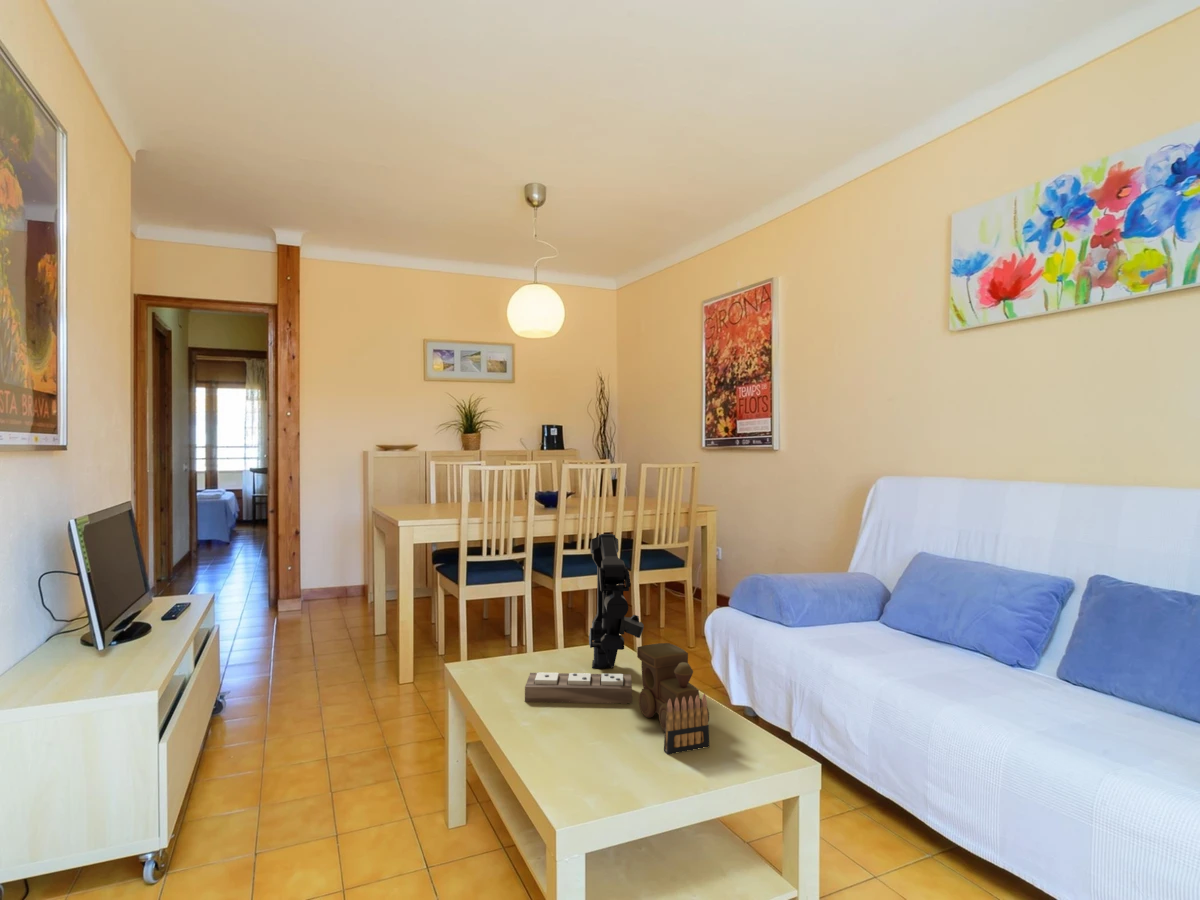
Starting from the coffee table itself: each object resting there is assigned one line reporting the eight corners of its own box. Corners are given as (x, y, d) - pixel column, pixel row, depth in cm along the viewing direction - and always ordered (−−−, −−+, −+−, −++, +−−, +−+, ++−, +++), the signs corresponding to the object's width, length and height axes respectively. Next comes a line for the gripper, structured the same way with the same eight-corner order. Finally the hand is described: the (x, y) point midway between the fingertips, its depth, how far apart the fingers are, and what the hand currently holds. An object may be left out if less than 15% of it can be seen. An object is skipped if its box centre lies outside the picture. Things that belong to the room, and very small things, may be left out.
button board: (530, 686, 183) (530, 672, 183) (630, 688, 182) (630, 674, 182) (524, 701, 172) (524, 686, 172) (631, 703, 171) (632, 688, 171)
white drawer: (537, 681, 180) (537, 671, 180) (558, 682, 180) (558, 672, 180) (534, 689, 174) (534, 679, 174) (556, 689, 174) (556, 679, 174)
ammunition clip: (705, 743, 148) (705, 691, 148) (709, 747, 147) (710, 694, 147) (663, 750, 145) (664, 697, 145) (667, 754, 143) (667, 700, 143)
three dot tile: (601, 682, 180) (601, 672, 180) (622, 683, 180) (622, 673, 180) (600, 690, 174) (601, 680, 174) (623, 691, 174) (623, 680, 174)
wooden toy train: (633, 710, 167) (633, 646, 168) (671, 703, 172) (671, 641, 172) (672, 742, 149) (673, 670, 149) (713, 733, 154) (714, 664, 154)
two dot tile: (569, 682, 180) (569, 672, 180) (590, 682, 180) (590, 672, 180) (567, 690, 174) (567, 679, 174) (589, 690, 174) (590, 680, 174)
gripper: (643, 618, 168) (643, 678, 168) (640, 601, 186) (640, 655, 186) (600, 617, 168) (600, 677, 168) (602, 600, 187) (601, 654, 187)
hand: (612, 665), depth 177 cm, fingers closed
